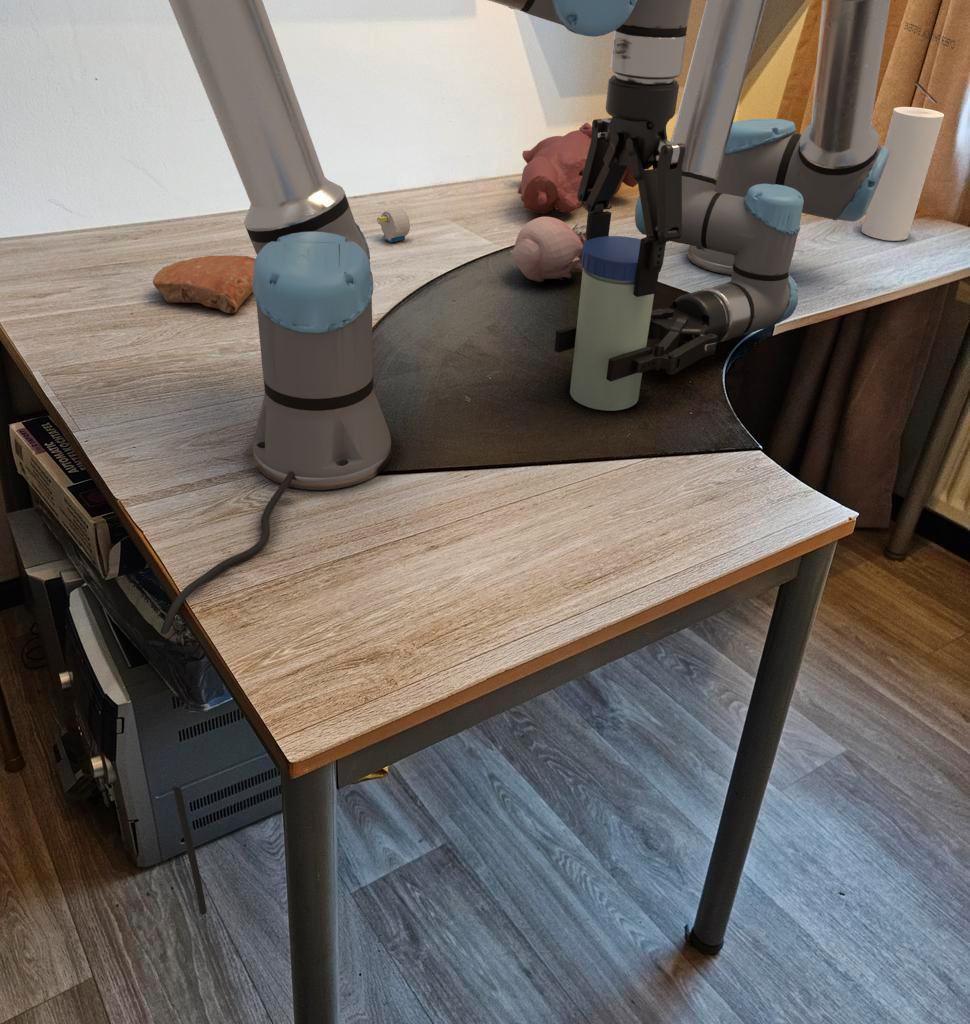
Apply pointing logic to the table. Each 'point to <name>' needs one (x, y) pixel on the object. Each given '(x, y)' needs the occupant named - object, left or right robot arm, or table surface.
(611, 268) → the lid
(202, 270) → the ceramic shard
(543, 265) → the toy
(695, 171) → the right robot arm
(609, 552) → the table surface
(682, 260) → the table surface
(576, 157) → the reddish brown figurine
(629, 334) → the jar
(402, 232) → the electric motor
